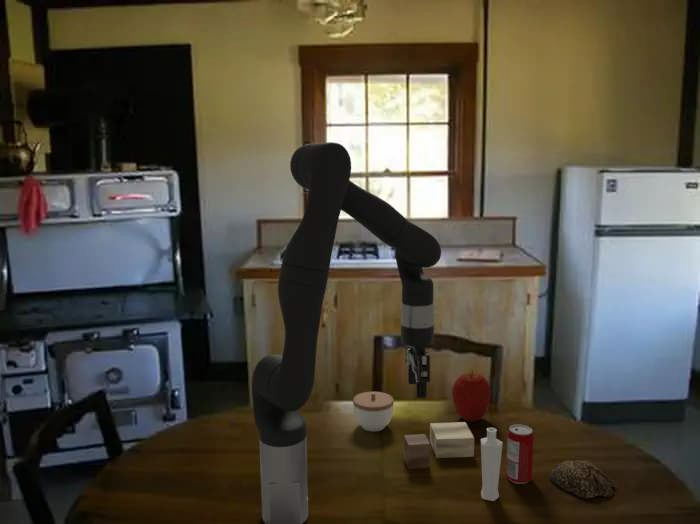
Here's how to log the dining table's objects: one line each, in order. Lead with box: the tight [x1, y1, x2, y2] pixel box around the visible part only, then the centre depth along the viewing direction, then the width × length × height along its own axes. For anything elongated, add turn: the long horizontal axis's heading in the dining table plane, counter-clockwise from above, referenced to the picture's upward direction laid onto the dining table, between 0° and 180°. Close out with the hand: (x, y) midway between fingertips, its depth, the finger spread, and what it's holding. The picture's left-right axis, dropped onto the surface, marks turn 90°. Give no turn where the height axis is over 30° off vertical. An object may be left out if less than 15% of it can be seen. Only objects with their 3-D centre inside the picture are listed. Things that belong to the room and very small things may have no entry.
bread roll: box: [548, 460, 615, 499], centre depth 139 cm, size 13×12×5 cm
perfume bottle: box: [480, 427, 504, 502], centre depth 133 cm, size 5×4×15 cm
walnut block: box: [403, 433, 431, 470], centre depth 148 cm, size 5×5×6 cm
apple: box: [451, 370, 492, 423], centre depth 171 cm, size 10×10×14 cm
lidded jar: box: [352, 391, 395, 432], centre depth 168 cm, size 11×11×9 cm
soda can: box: [505, 423, 534, 485], centre depth 140 cm, size 6×6×12 cm
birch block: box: [429, 421, 475, 459], centre depth 155 cm, size 9×9×5 cm
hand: (416, 390), depth 146 cm, fingers open, 8 cm apart
